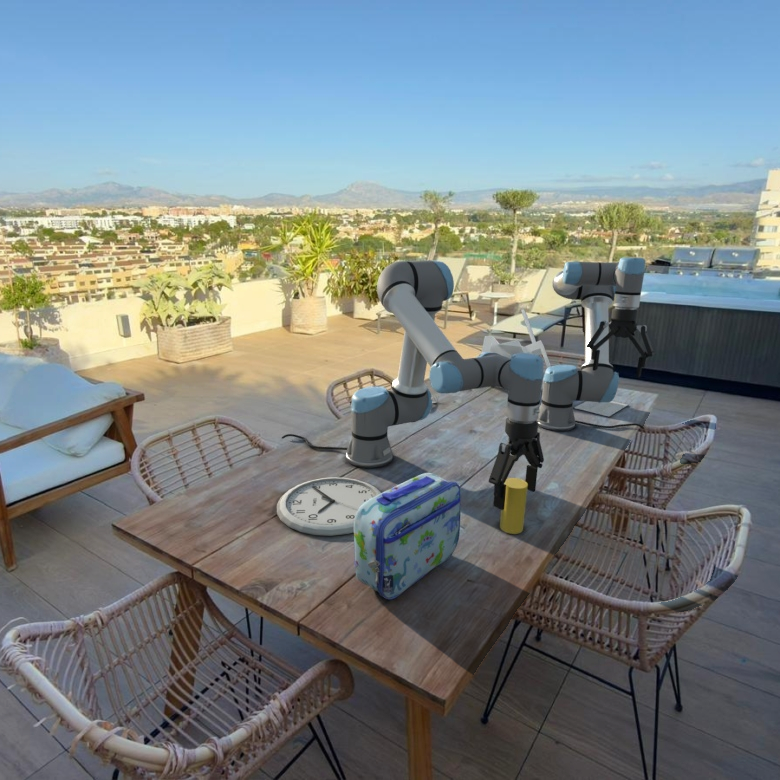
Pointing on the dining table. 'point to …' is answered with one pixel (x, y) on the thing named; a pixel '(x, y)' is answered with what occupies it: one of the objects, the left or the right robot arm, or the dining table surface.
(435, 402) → the fork
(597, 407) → the invitation card
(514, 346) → the white plastic object
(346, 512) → the wall clock
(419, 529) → the lunch box
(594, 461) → the dining table surface
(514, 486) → the can
